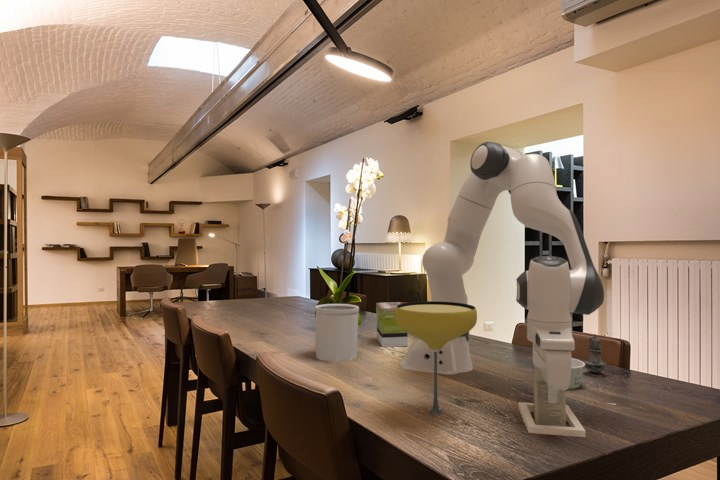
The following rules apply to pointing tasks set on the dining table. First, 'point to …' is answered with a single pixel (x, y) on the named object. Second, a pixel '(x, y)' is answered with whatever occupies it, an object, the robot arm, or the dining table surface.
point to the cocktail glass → (436, 326)
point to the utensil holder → (336, 332)
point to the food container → (576, 373)
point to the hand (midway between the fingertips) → (548, 397)
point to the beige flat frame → (574, 430)
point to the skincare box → (547, 403)
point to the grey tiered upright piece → (594, 359)
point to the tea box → (389, 326)
